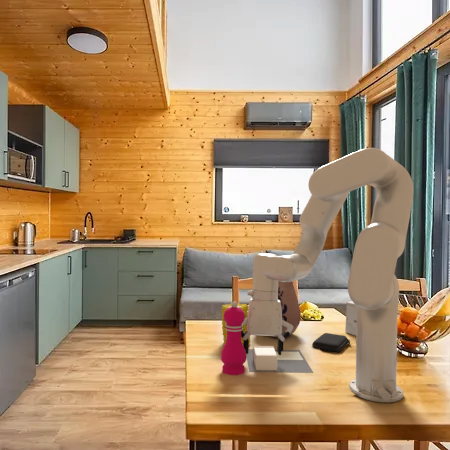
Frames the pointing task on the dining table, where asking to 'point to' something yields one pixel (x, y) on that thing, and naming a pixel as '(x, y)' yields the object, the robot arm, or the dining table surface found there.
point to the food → (224, 307)
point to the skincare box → (351, 318)
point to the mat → (284, 362)
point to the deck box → (265, 358)
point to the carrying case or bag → (331, 342)
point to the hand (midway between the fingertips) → (262, 352)
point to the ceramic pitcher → (289, 305)
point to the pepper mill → (233, 342)
